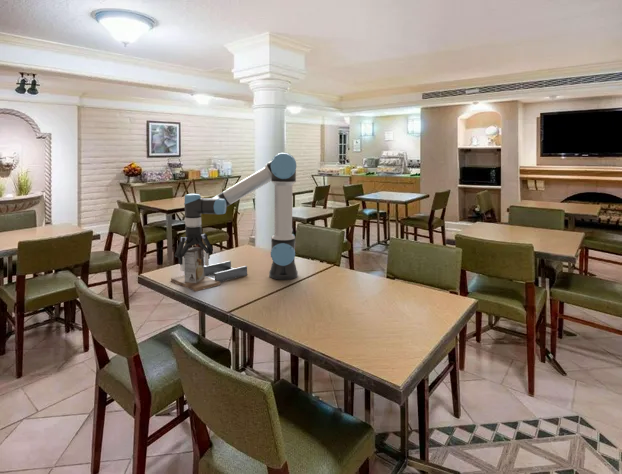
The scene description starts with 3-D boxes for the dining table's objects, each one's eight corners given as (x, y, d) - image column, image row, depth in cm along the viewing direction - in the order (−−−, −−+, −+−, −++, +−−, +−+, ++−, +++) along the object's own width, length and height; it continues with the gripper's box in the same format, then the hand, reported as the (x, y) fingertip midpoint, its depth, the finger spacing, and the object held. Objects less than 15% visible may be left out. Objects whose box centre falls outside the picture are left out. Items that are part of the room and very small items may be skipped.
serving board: (220, 284, 205) (220, 281, 204) (195, 291, 194) (195, 288, 194) (195, 275, 219) (195, 272, 219) (171, 281, 209) (170, 278, 208)
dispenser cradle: (247, 275, 222) (247, 266, 221) (216, 283, 207) (215, 273, 206) (229, 269, 231) (229, 260, 230) (199, 276, 217) (198, 267, 216)
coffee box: (193, 276, 211) (192, 246, 208) (204, 278, 210) (204, 247, 207) (184, 282, 202) (183, 250, 199) (196, 283, 201) (195, 251, 198)
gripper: (210, 222, 212) (211, 261, 217) (165, 227, 194) (167, 271, 198) (219, 223, 207) (220, 264, 212) (174, 230, 189) (176, 274, 193)
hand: (194, 268), depth 205 cm, fingers open, 13 cm apart
